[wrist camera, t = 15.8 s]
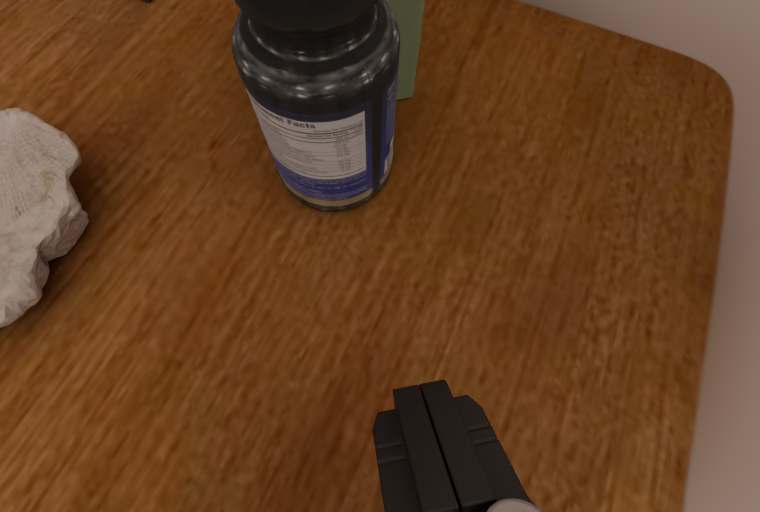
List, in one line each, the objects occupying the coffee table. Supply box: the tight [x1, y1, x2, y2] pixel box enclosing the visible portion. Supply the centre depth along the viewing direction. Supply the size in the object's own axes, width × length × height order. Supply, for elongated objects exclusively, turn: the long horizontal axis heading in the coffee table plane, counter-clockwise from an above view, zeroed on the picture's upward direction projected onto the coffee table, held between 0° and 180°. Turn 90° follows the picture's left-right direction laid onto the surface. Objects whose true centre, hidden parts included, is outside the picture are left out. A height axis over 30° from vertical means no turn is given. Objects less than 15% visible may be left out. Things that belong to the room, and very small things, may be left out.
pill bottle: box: [232, 0, 400, 211], centre depth 16 cm, size 6×6×11 cm
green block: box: [384, 0, 425, 100], centre depth 21 cm, size 8×8×7 cm
